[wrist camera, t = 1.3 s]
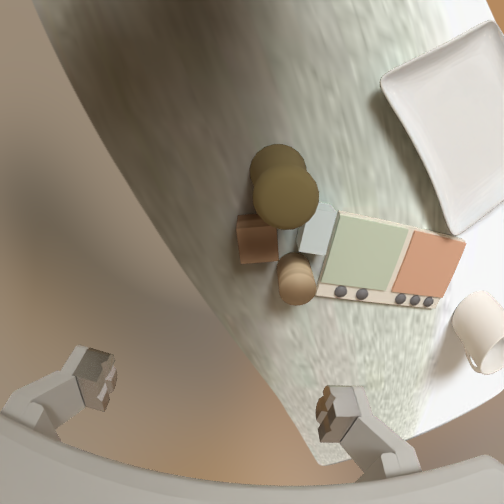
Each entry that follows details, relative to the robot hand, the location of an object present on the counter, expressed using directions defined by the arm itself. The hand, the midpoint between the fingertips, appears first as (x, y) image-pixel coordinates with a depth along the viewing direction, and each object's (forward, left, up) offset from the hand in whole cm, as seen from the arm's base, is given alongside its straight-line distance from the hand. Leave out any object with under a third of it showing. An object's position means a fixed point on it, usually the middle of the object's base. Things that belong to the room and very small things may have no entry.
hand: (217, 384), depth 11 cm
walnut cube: (+4, +2, -26) cm, 26 cm away
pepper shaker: (-3, +3, -26) cm, 26 cm away
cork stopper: (+8, +7, -26) cm, 28 cm away
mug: (+13, +39, -26) cm, 49 cm away
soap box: (+2, +8, -26) cm, 27 cm away
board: (+6, +20, -25) cm, 33 cm away
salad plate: (-15, +26, -26) cm, 39 cm away
